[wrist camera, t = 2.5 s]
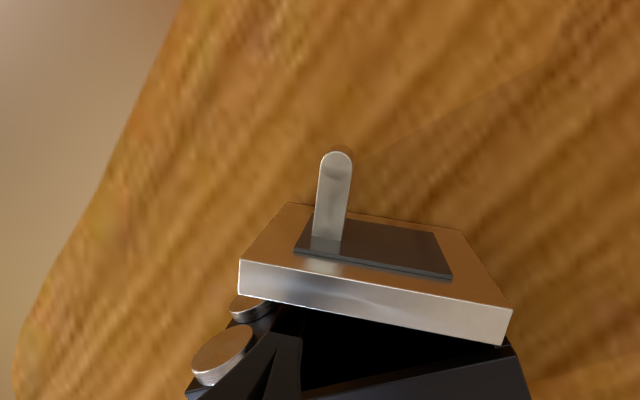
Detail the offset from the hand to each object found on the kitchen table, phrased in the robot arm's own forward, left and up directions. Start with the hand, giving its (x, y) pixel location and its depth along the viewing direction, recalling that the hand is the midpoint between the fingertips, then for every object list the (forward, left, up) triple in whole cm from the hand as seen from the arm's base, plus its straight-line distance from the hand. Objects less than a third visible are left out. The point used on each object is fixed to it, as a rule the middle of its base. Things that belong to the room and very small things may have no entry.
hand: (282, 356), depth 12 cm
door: (+2, -4, -9) cm, 10 cm away
